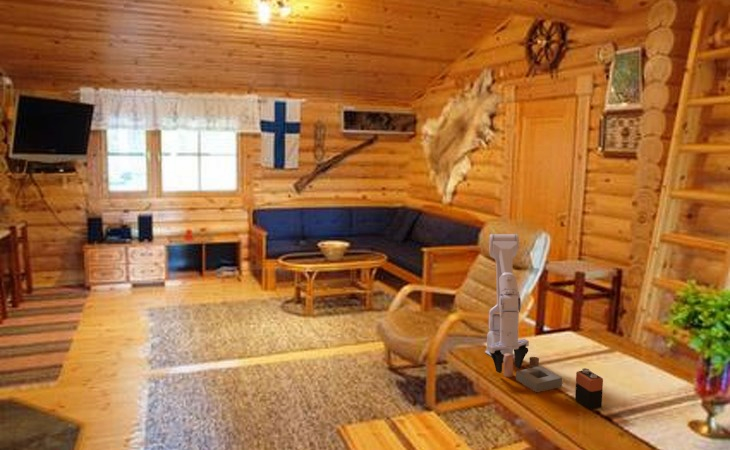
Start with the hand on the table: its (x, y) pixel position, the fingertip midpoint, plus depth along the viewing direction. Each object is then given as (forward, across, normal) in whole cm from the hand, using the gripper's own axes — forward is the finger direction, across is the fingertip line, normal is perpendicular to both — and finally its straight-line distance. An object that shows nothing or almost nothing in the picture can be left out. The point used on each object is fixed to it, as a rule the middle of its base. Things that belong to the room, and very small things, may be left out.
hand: (508, 369), depth 183 cm
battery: (+2, +9, -26) cm, 28 cm away
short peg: (+2, +10, 0) cm, 11 cm away
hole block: (+2, +5, -9) cm, 10 cm away
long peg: (+2, 0, 0) cm, 2 cm away
